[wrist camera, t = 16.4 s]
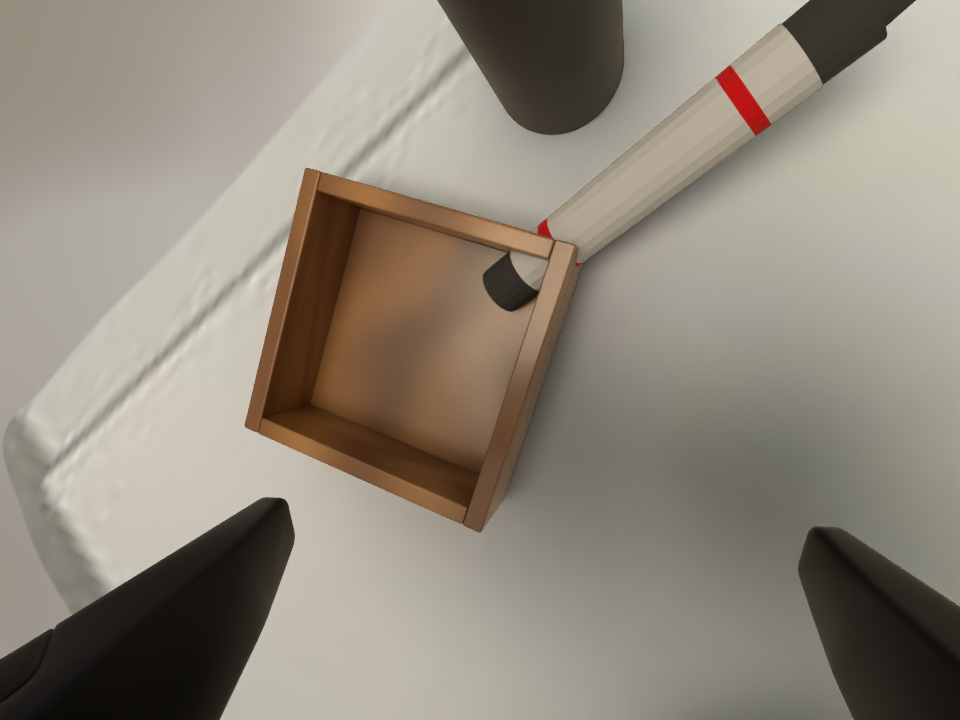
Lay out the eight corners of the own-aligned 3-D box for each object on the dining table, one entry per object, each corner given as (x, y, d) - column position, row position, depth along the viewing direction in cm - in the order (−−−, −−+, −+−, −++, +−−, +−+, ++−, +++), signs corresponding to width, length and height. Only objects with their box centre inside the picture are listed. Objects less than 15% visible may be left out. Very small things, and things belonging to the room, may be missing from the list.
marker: (525, 308, 21) (501, 316, 19) (499, 266, 21) (473, 272, 19) (1001, -38, 12) (1030, -76, 10) (951, -104, 12) (972, -151, 11)
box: (586, 256, 20) (576, 245, 16) (503, 499, 22) (480, 533, 18) (353, 188, 22) (304, 166, 19) (297, 411, 24) (243, 427, 21)
